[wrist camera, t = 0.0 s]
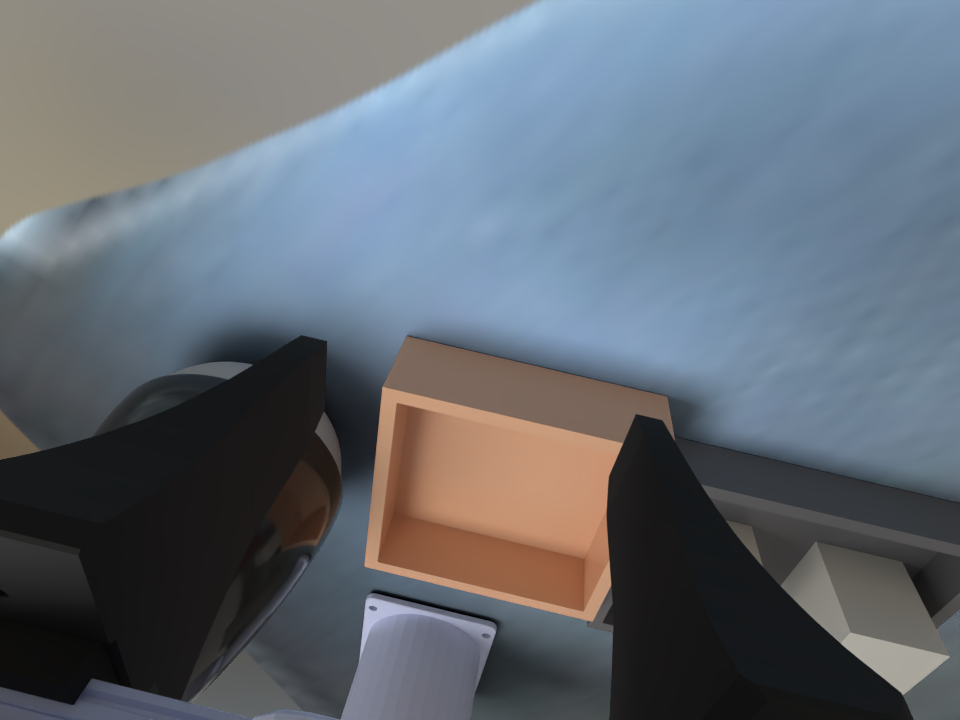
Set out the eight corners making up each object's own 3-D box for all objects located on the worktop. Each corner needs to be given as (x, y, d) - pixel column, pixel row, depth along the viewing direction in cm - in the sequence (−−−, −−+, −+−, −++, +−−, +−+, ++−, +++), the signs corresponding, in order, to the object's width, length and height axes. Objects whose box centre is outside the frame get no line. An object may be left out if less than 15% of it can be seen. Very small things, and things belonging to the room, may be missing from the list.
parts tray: (845, 644, 32) (862, 693, 30) (587, 582, 33) (587, 626, 30) (981, 508, 26) (1016, 558, 24) (657, 432, 26) (663, 475, 24)
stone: (855, 610, 30) (892, 703, 26) (776, 591, 30) (802, 681, 26) (902, 561, 27) (950, 656, 24) (815, 541, 28) (850, 632, 24)
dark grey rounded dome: (136, 417, 31) (-172, 735, 18) (212, 282, 25) (-151, 605, 13) (306, 518, 33) (137, 857, 21) (408, 416, 28) (262, 792, 15)
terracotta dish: (592, 558, 31) (592, 621, 29) (385, 509, 32) (364, 566, 29) (667, 396, 25) (677, 456, 22) (406, 335, 25) (382, 387, 22)
